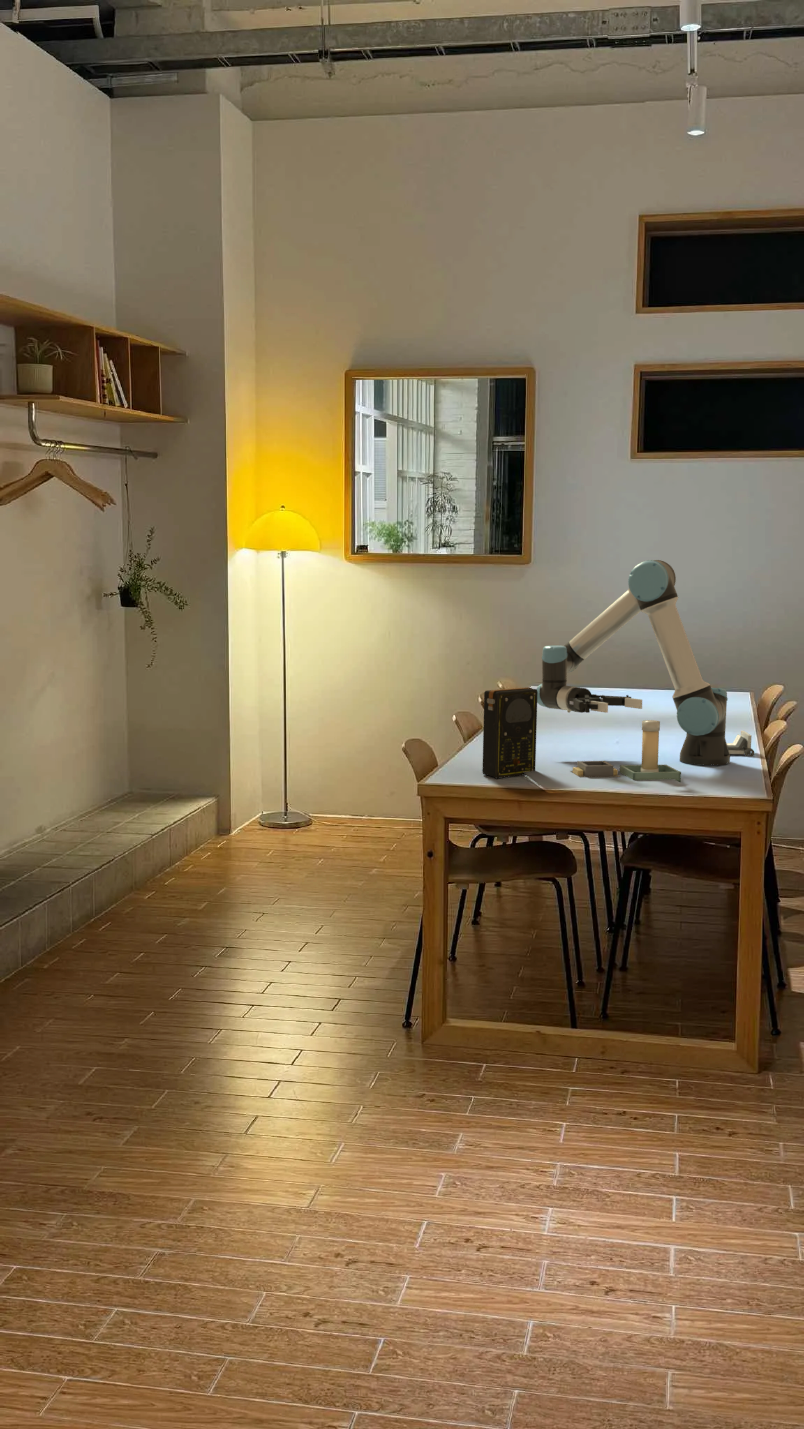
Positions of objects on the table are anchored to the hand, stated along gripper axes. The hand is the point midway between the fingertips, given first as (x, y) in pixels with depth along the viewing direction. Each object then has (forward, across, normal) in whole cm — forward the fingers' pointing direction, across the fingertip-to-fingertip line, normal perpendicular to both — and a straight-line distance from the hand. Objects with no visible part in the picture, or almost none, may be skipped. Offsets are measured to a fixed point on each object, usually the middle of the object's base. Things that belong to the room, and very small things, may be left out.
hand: (624, 706), depth 384 cm
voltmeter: (-15, +31, -19) cm, 39 cm away
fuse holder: (0, +12, -20) cm, 23 cm away
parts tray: (+10, 0, -20) cm, 22 cm away
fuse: (+10, 0, -19) cm, 22 cm away
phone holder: (-11, -53, -21) cm, 58 cm away
